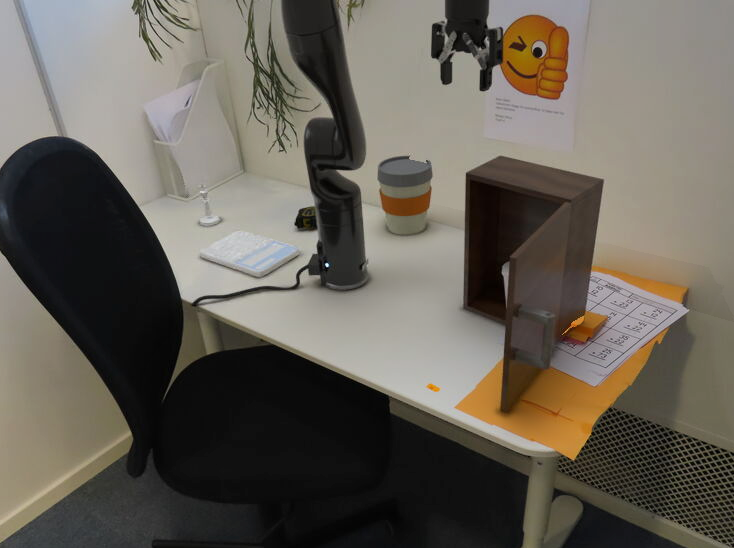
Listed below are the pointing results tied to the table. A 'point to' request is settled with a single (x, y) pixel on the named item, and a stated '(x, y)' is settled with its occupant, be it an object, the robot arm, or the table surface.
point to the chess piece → (207, 210)
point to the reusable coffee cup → (405, 193)
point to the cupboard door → (533, 304)
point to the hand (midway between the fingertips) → (465, 87)
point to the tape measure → (306, 218)
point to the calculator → (249, 253)
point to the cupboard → (526, 231)
